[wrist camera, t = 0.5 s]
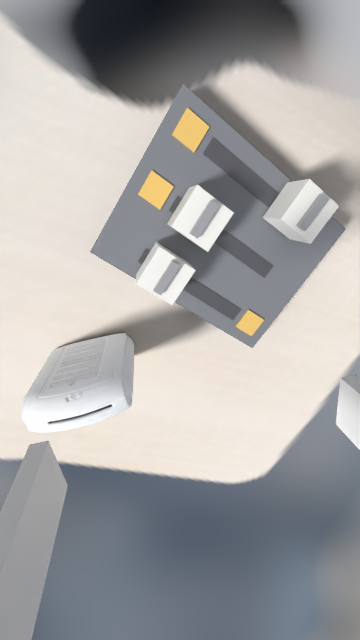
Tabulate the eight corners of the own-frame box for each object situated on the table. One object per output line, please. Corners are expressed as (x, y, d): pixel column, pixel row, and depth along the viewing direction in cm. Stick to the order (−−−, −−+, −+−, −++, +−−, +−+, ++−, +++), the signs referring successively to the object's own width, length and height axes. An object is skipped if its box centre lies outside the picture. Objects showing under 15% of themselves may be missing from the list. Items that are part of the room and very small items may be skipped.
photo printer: (60, 376, 37) (25, 452, 25) (47, 347, 35) (4, 415, 24) (138, 356, 37) (139, 422, 26) (129, 327, 36) (126, 384, 24)
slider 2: (262, 217, 29) (283, 219, 25) (287, 182, 29) (313, 178, 24) (289, 239, 31) (314, 244, 27) (314, 206, 30) (343, 206, 26)
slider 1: (135, 274, 30) (135, 285, 26) (156, 241, 29) (159, 247, 25) (167, 293, 31) (172, 307, 27) (188, 262, 30) (196, 271, 26)
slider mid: (166, 224, 28) (172, 227, 24) (189, 187, 27) (198, 183, 23) (199, 246, 30) (209, 252, 25) (221, 212, 29) (236, 212, 24)
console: (94, 248, 31) (89, 252, 28) (178, 96, 27) (183, 82, 24) (243, 337, 38) (252, 348, 35) (328, 227, 34) (346, 229, 31)
